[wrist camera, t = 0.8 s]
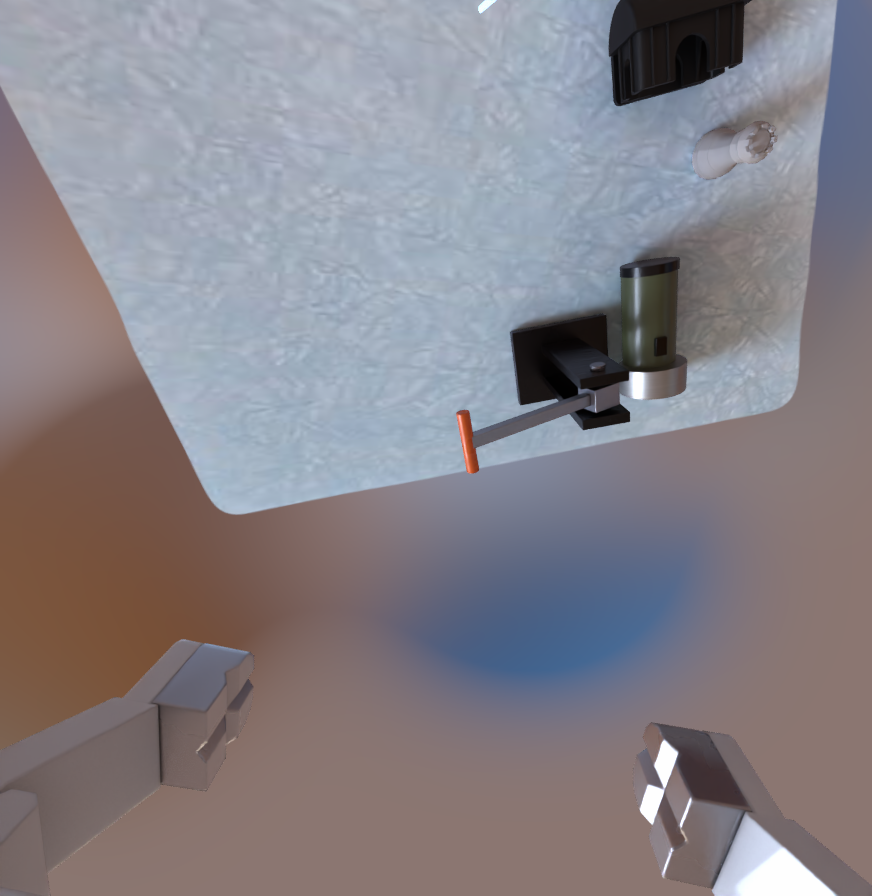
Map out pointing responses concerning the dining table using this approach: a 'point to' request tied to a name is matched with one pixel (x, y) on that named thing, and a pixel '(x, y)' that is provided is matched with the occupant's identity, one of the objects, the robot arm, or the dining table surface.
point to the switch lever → (532, 419)
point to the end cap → (672, 45)
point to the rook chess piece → (732, 149)
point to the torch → (651, 329)
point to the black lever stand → (567, 366)
